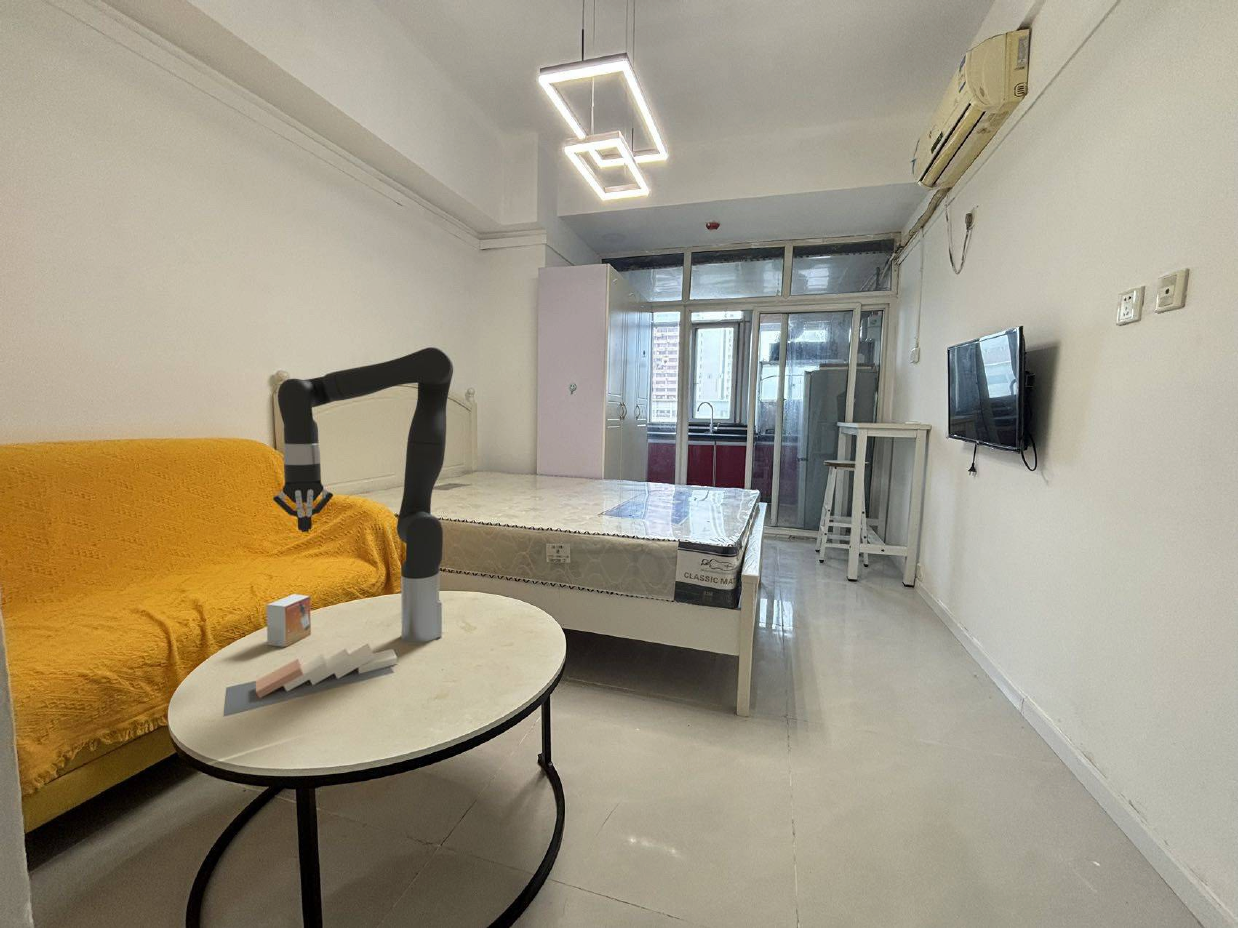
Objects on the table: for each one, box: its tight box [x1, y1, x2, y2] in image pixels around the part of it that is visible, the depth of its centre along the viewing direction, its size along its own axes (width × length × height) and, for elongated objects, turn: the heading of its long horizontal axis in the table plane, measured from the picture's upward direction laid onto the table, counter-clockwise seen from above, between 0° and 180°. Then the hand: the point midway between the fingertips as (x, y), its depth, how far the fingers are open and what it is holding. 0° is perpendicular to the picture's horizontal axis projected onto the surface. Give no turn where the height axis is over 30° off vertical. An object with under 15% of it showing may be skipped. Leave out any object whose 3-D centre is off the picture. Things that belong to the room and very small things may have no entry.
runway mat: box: [223, 650, 395, 717], centre depth 107 cm, size 30×12×1 cm, turn 126°
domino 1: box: [255, 658, 303, 698], centre depth 104 cm, size 2×5×8 cm
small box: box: [266, 593, 312, 648], centre depth 126 cm, size 8×6×10 cm
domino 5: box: [357, 648, 398, 673], centre depth 115 cm, size 2×5×8 cm
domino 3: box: [310, 648, 352, 685], centre depth 109 cm, size 2×5×8 cm
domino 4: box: [335, 643, 375, 679], centre depth 112 cm, size 2×5×8 cm
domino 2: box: [283, 653, 328, 691], centre depth 106 cm, size 2×5×8 cm
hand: (305, 531), depth 122 cm, fingers closed
